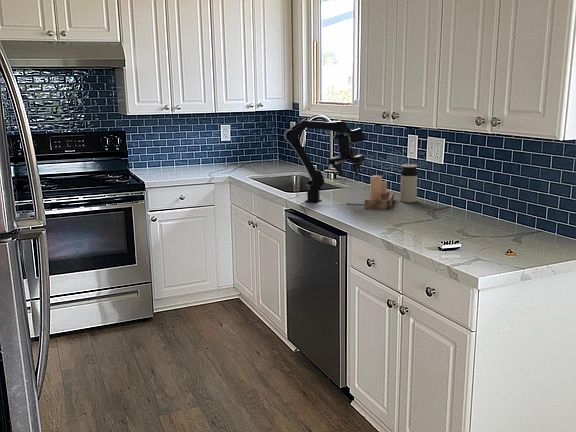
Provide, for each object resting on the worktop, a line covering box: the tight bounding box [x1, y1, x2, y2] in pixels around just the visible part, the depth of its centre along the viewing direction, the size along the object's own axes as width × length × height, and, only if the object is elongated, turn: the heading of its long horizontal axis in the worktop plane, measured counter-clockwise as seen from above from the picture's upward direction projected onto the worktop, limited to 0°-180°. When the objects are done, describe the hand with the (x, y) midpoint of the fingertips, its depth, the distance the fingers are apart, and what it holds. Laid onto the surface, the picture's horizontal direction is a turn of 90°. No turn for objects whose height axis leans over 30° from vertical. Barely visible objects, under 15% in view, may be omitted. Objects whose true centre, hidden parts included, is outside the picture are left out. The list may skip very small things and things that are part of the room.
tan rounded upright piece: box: [369, 174, 388, 200], centre depth 276 cm, size 8×6×14 cm
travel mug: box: [399, 163, 419, 204], centre depth 280 cm, size 8×8×18 cm
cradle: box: [364, 191, 395, 210], centre depth 277 cm, size 12×23×4 cm, turn 165°
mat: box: [346, 199, 365, 206], centre depth 280 cm, size 10×10×1 cm
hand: (349, 176), depth 286 cm, fingers open, 9 cm apart
